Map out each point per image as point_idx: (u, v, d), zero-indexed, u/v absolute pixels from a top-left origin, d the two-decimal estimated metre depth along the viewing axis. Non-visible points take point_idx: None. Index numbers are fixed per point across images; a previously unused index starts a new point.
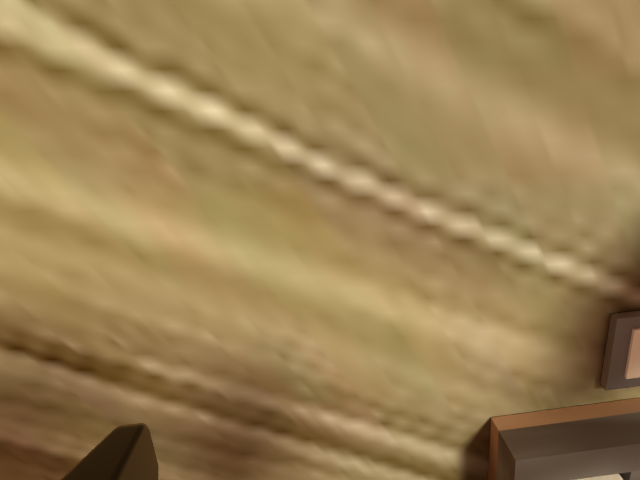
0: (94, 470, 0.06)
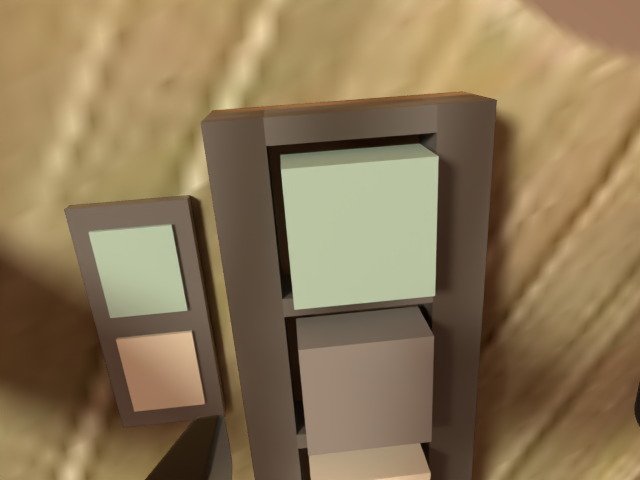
0: (185, 460, 0.06)
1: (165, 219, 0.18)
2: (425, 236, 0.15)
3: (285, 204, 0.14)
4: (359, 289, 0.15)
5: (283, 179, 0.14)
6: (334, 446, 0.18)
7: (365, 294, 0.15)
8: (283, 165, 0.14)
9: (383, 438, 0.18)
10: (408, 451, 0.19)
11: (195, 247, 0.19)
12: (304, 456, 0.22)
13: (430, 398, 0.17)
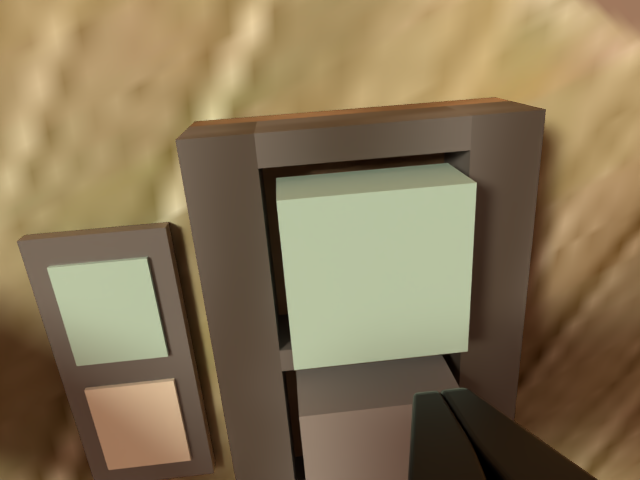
0: (439, 430, 0.06)
1: (139, 251, 0.15)
2: (457, 280, 0.12)
3: (282, 244, 0.11)
4: (374, 345, 0.12)
5: (279, 213, 0.11)
6: None
7: (382, 350, 0.12)
8: (279, 194, 0.11)
9: None
10: None
11: (176, 283, 0.16)
12: None
13: None
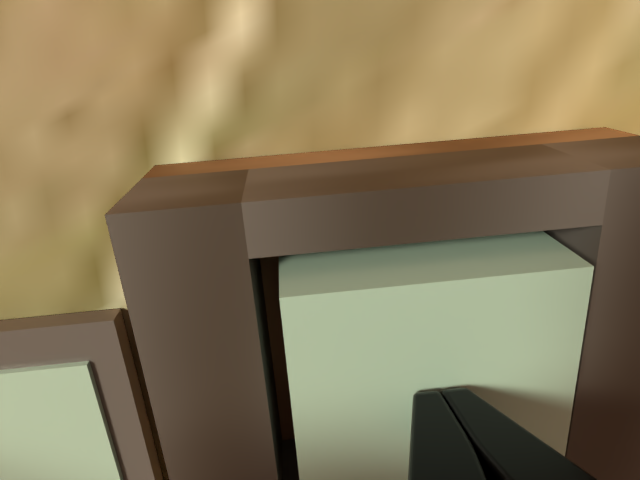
0: (439, 430, 0.06)
1: (75, 354, 0.10)
2: (552, 405, 0.08)
3: (288, 360, 0.07)
4: None
5: (284, 315, 0.07)
6: None
7: None
8: (284, 282, 0.07)
9: None
10: None
11: (133, 395, 0.11)
12: None
13: None
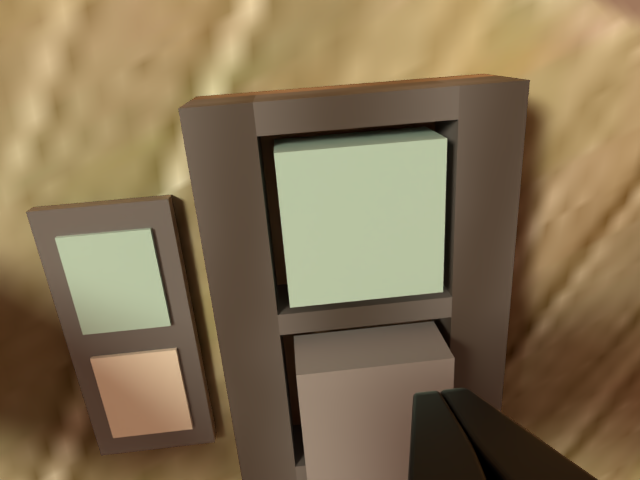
0: (439, 430, 0.06)
1: (142, 223, 0.16)
2: (432, 227, 0.14)
3: (279, 192, 0.13)
4: (360, 285, 0.14)
5: (276, 164, 0.13)
6: None
7: (367, 290, 0.14)
8: (276, 149, 0.13)
9: (395, 473, 0.15)
10: None
11: (178, 254, 0.16)
12: None
13: None
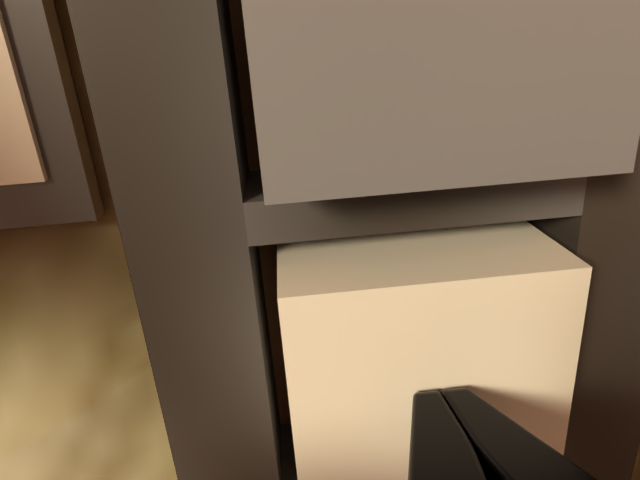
0: (439, 430, 0.06)
1: None
2: None
3: None
4: None
5: None
6: (344, 174, 0.06)
7: None
8: None
9: (494, 150, 0.06)
10: (518, 241, 0.08)
11: None
12: (274, 316, 0.10)
13: None
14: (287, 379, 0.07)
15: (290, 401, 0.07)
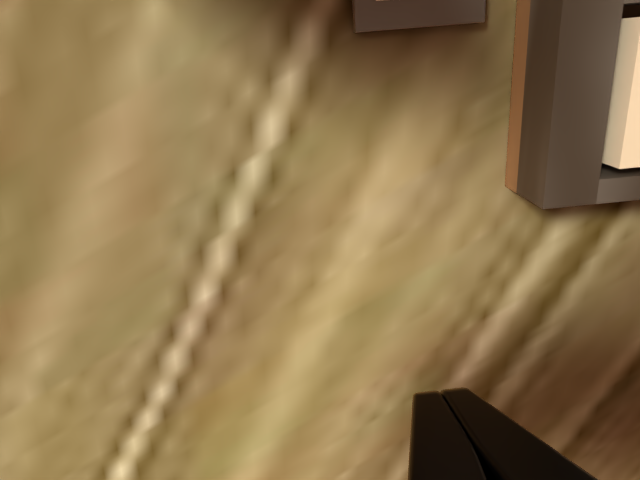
0: (439, 430, 0.06)
1: None
2: None
3: None
4: None
5: None
6: None
7: None
8: None
9: None
10: None
11: None
12: None
13: None
14: (634, 66, 0.15)
15: (634, 80, 0.15)
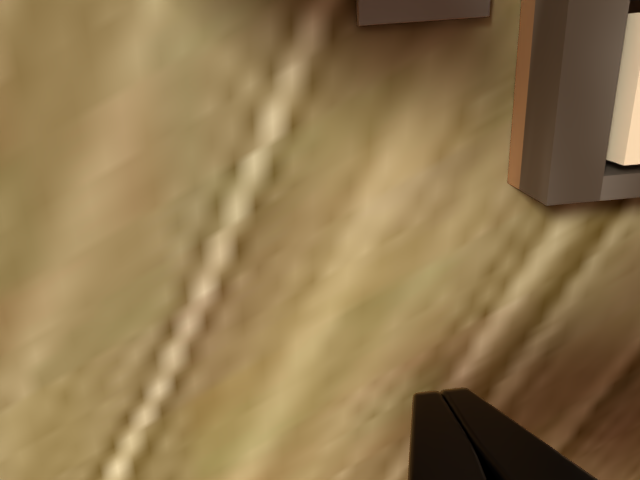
0: (439, 430, 0.06)
1: None
2: None
3: None
4: None
5: None
6: None
7: None
8: None
9: None
10: None
11: None
12: None
13: None
14: None
15: (639, 75, 0.15)
